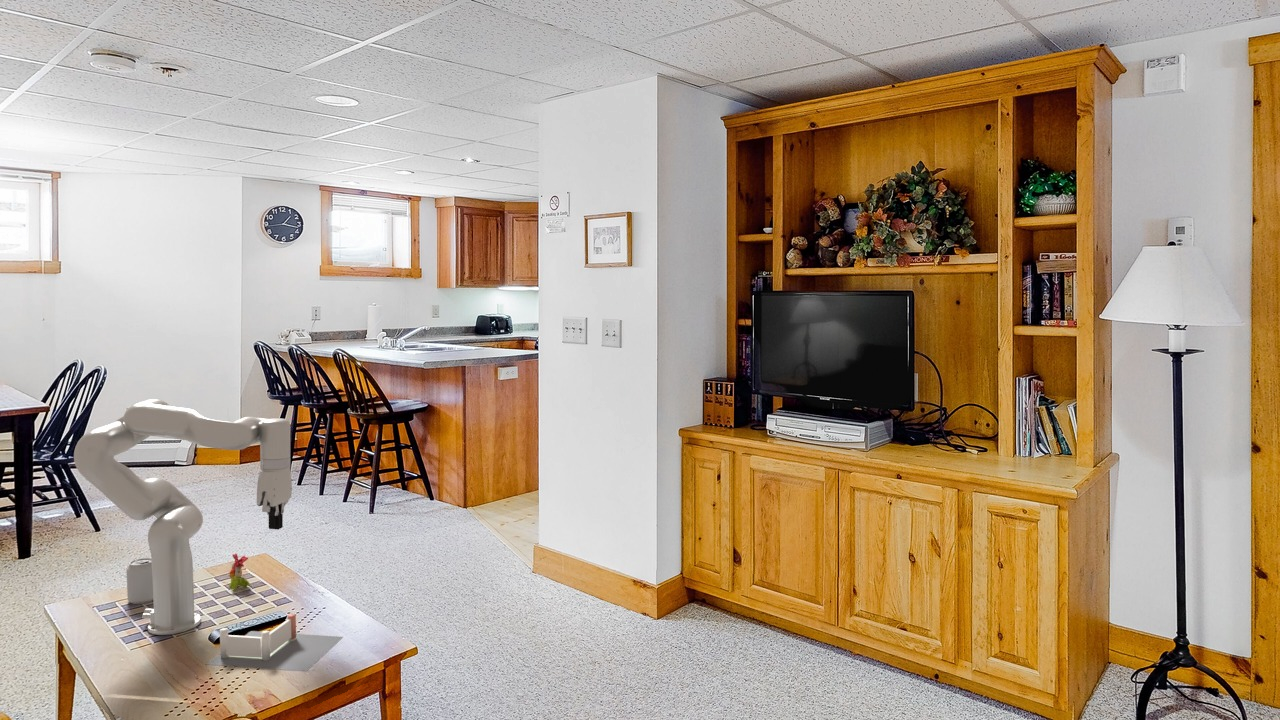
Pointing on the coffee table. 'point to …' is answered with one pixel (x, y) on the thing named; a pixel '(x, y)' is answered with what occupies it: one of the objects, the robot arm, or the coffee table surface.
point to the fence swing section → (283, 633)
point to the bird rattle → (237, 573)
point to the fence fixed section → (245, 645)
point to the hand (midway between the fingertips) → (275, 528)
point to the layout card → (285, 654)
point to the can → (140, 581)
